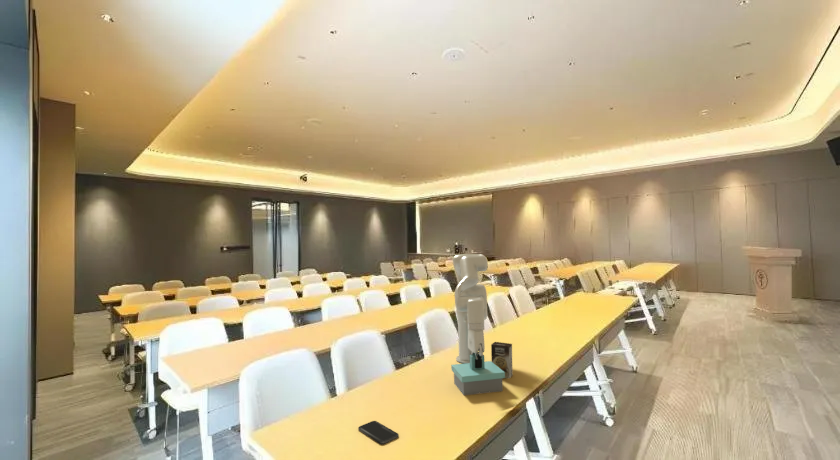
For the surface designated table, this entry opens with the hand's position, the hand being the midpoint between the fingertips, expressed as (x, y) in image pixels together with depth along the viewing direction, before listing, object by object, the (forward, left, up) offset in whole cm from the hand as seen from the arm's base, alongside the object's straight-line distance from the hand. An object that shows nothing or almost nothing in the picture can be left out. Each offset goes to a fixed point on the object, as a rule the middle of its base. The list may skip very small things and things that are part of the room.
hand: (477, 366), depth 170 cm
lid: (0, 0, -4) cm, 4 cm away
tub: (0, 0, -10) cm, 10 cm away
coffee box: (-11, +17, -10) cm, 23 cm away
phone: (+28, -48, -11) cm, 57 cm away
